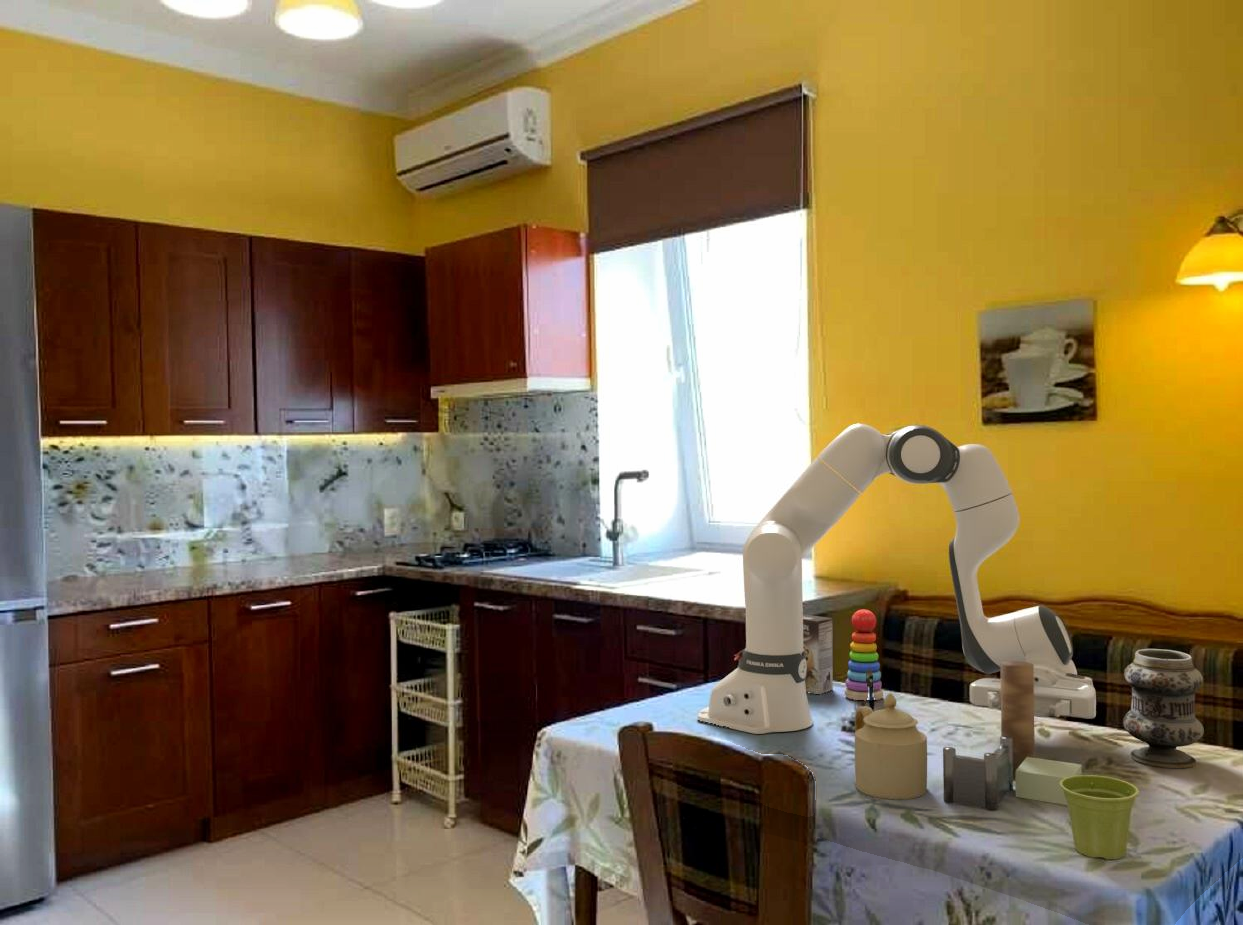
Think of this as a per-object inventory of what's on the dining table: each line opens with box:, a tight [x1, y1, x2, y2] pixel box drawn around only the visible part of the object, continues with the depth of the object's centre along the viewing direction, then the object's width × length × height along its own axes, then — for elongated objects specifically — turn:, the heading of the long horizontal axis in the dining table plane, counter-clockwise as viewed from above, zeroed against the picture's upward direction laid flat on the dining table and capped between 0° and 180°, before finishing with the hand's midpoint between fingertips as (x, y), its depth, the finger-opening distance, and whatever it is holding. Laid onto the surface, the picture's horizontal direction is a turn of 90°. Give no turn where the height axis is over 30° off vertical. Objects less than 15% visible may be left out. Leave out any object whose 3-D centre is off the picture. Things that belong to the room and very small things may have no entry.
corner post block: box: [942, 736, 1014, 812], centre depth 158 cm, size 8×12×8 cm, turn 147°
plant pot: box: [1060, 774, 1140, 860], centre depth 135 cm, size 9×9×9 cm
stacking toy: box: [844, 609, 884, 702], centre depth 218 cm, size 8×8×19 cm
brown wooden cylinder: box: [1000, 661, 1036, 780], centre depth 167 cm, size 5×5×18 cm
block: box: [1015, 757, 1083, 806], centre depth 158 cm, size 8×8×4 cm
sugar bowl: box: [854, 692, 928, 800], centre depth 163 cm, size 15×11×15 cm
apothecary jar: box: [1122, 648, 1205, 769], centre depth 173 cm, size 12×12×18 cm
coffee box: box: [803, 613, 834, 695], centre depth 226 cm, size 9×6×16 cm
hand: (1023, 707), depth 170 cm, fingers open, 8 cm apart
